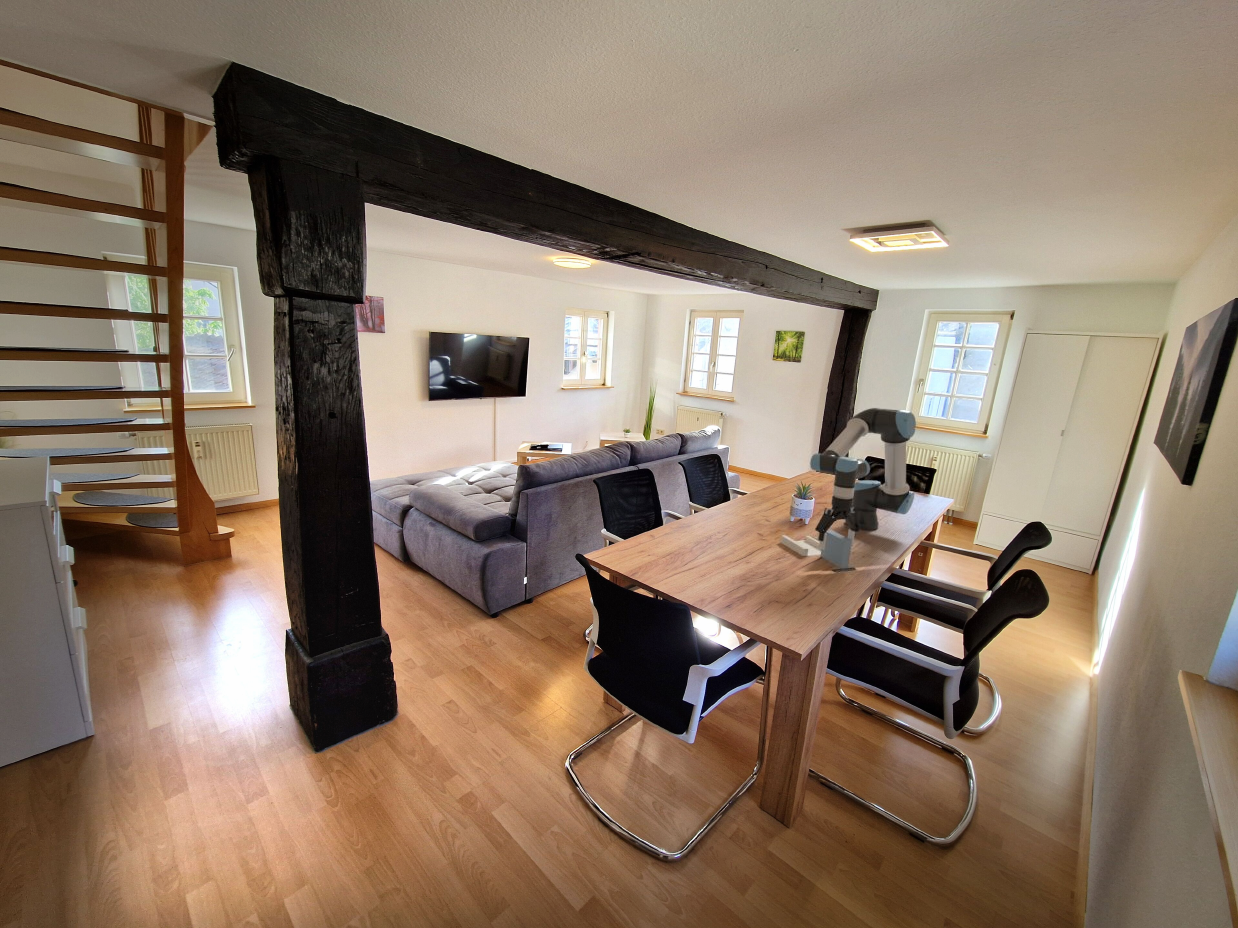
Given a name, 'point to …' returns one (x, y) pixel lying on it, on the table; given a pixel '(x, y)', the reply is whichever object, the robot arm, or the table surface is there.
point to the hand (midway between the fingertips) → (835, 547)
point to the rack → (803, 545)
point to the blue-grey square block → (837, 549)
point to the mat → (844, 570)
